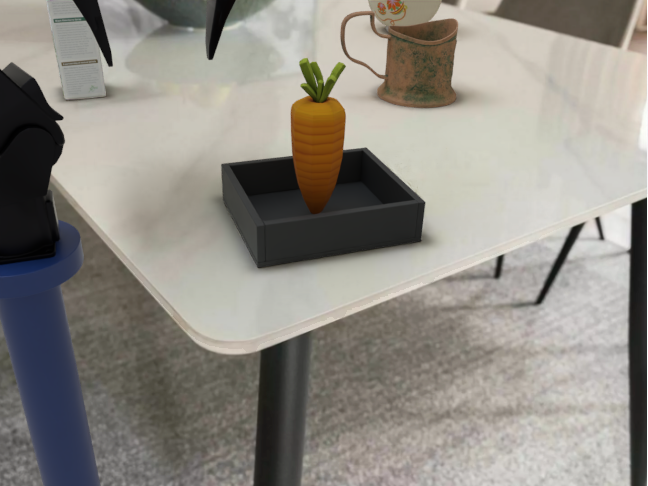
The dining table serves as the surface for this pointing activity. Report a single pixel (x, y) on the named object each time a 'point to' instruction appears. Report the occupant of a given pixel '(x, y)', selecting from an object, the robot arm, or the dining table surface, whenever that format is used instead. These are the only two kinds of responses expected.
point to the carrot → (317, 136)
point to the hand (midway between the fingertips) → (161, 62)
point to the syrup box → (75, 51)
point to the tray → (335, 219)
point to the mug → (415, 62)
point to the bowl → (404, 11)
